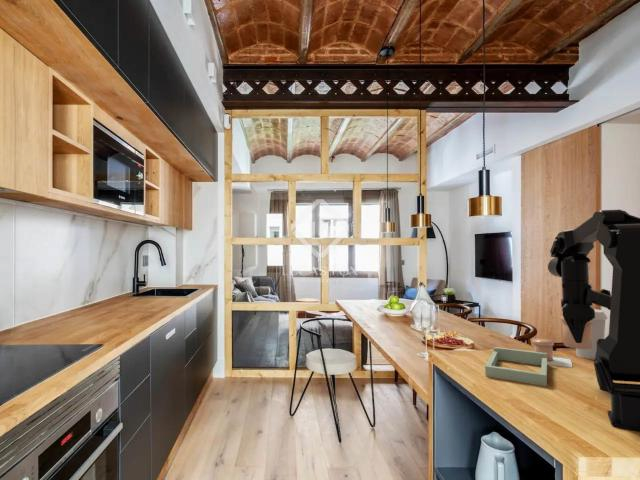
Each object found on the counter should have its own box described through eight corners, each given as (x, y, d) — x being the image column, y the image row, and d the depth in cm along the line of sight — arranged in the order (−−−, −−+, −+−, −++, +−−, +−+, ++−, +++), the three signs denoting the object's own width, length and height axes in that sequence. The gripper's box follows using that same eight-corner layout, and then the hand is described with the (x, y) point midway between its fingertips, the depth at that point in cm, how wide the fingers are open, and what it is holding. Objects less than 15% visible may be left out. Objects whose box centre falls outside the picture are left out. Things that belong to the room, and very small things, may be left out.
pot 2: (596, 351, 86) (595, 320, 86) (561, 347, 90) (560, 318, 90) (593, 344, 92) (592, 316, 92) (561, 341, 96) (560, 313, 96)
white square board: (572, 370, 100) (572, 367, 100) (523, 363, 106) (523, 361, 106) (570, 360, 109) (570, 358, 109) (525, 354, 115) (525, 352, 115)
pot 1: (554, 362, 105) (553, 343, 105) (532, 359, 108) (531, 341, 108) (554, 357, 109) (553, 339, 109) (533, 355, 112) (532, 337, 113)
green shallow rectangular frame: (546, 387, 88) (546, 371, 88) (485, 377, 96) (485, 362, 96) (547, 367, 103) (546, 353, 103) (494, 359, 111) (494, 346, 111)
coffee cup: (573, 360, 108) (571, 311, 109) (568, 352, 117) (566, 307, 117) (613, 364, 104) (610, 313, 104) (605, 355, 112) (602, 308, 113)
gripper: (621, 283, 79) (624, 353, 79) (609, 277, 95) (612, 336, 94) (561, 282, 85) (564, 347, 85) (559, 277, 101) (562, 331, 100)
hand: (577, 340), depth 91 cm, fingers closed on pot 2, 6 cm apart
